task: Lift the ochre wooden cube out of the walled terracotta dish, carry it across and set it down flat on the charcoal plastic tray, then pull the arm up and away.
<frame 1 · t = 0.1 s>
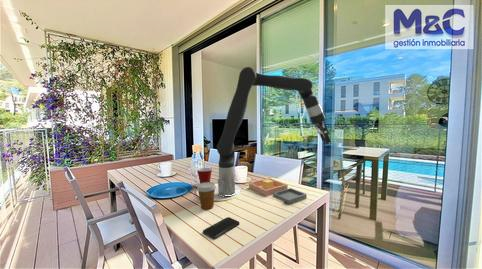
hand: (326, 141, 113), 31 cm above the table, tool tilted 20°, fingers open, 8 cm apart
disposable coffee cup: (207, 207, 106), on the table
phone: (221, 229, 86), on the table
plastic cup: (205, 186, 138), on the table
charcoal tray: (289, 197, 115), on the table
terracotta dish: (267, 189, 128), on the table
ochre cube: (267, 188, 128), point 1 cm above the table, touching terracotta dish
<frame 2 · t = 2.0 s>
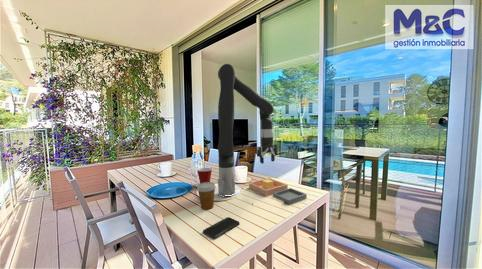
hand: (267, 162, 126), 18 cm above the table, tool pointing down, fingers open, 8 cm apart
nothing on the table moved.
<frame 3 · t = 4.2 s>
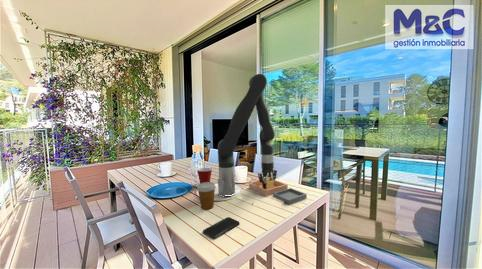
hand: (267, 187, 128), 1 cm above the table, tool pointing down, fingers closed on ochre cube, 5 cm apart
ochre cube: (267, 188, 128), point 1 cm above the table, touching gripper, terracotta dish
everything else where it was.
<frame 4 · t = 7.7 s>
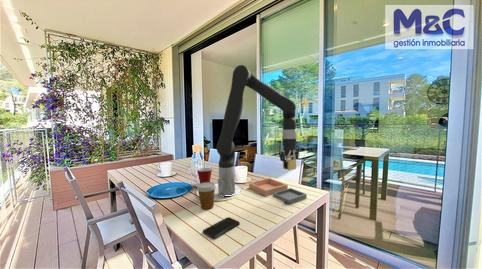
hand: (289, 167, 114), 17 cm above the table, tool pointing down, fingers closed on ochre cube, 5 cm apart
ochre cube: (289, 168, 114), point 17 cm above the table, touching gripper
everything else where it was.
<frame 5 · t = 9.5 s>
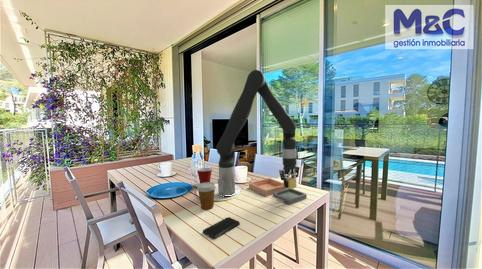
hand: (289, 186, 115), 7 cm above the table, tool pointing down, fingers closed on ochre cube, 5 cm apart
ochre cube: (289, 187, 115), point 6 cm above the table, touching gripper
everything else where it was.
when the fingers open (3 cm above the table, at t = 11.1 s): ochre cube drops 2 cm, resting on charcoal tray.
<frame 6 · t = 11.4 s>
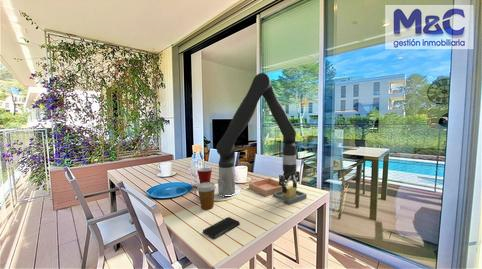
hand: (289, 191, 115), 4 cm above the table, tool pointing down, fingers open, 7 cm apart
ochre cube: (289, 196, 115), point 1 cm above the table, touching charcoal tray
everything else where it was.
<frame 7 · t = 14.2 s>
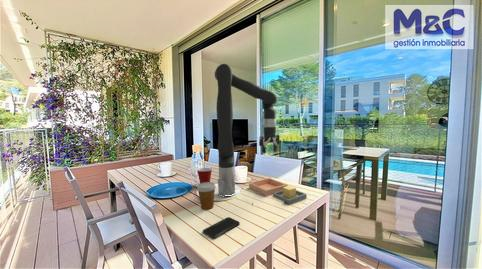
hand: (269, 152, 127), 24 cm above the table, tool pointing down, fingers open, 8 cm apart
nothing on the table moved.
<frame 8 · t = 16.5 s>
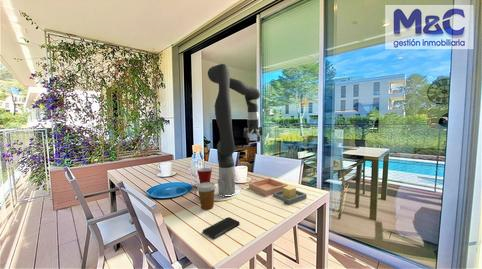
hand: (253, 142, 141), 28 cm above the table, tool pointing down, fingers open, 8 cm apart
nothing on the table moved.
at the end: ochre cube inside the target area on the charcoal tray (0.2 cm from its centre), point 0.8 cm above the charcoal tray's base; ochre cube tilted 0°; the gripper is holding nothing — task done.
